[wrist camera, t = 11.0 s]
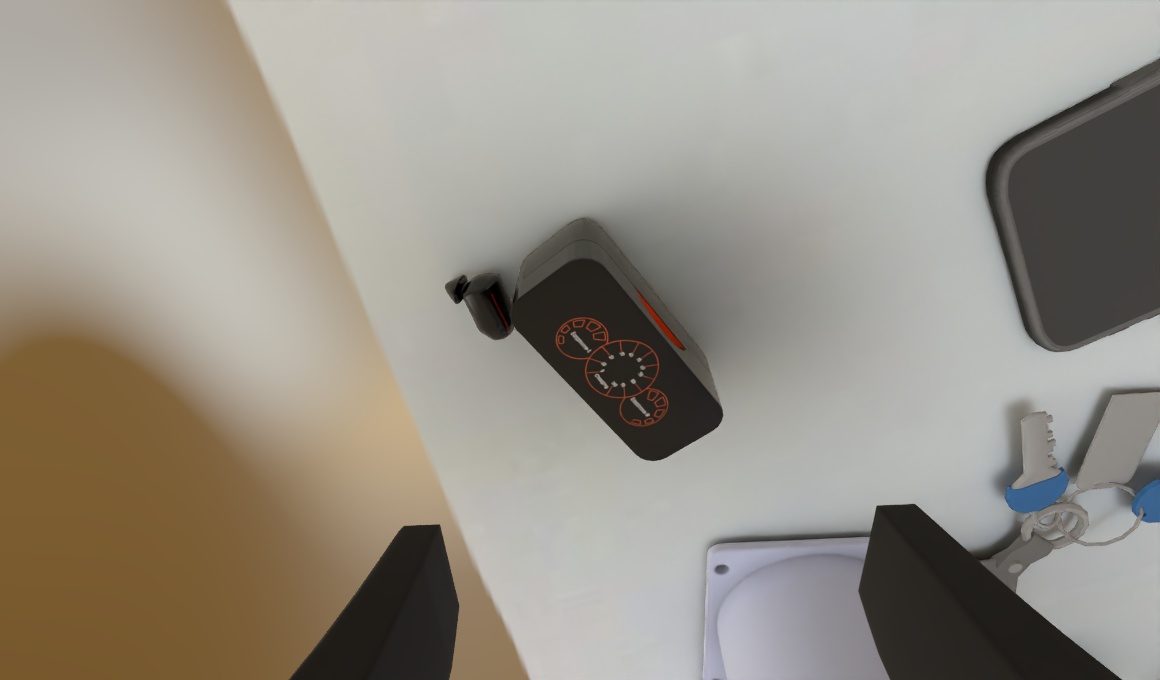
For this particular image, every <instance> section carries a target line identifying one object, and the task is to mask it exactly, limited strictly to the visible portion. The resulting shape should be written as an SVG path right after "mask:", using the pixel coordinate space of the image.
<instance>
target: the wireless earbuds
mask: <svg viewBox="0 0 1160 680" xmlns="http://www.w3.org/2000/svg"><path fill="white" fill-rule="evenodd" d="M445 289H446V291H447V293H448V294H449V296H450V298H451V299H452V300H453V301H454V302H455V304H459V303H460V302H461V301H462V299H464V301H465V303H466V305H467V307H468V309H469V311H470V313H471V315H472V317H473V319H474V321H475V324H476V326H477V328H478V329H479V331H480V332H481V333H483V334H485V335H486V336H488V337H489V338H491V339H493V340H500V339H504V338H506V337H507V336H508V335H510V334H511V333H512V331H513V330H514V327H515V328H516V330H517V331H518V332H519V333H520V334H521V335H522V336H523V337H524V338H525V339H526V340H527V341H528V342H529V343H530V344H531V345H532V346H533V347H534V348H535V349H536V351H537V352H538V353H539V354H540V355H541V356H542V357H543V358H544V359H545V360H546V361H547V362H548V363H549V364H550V365H551V366H552V367H553V368H554V369H555V370H556V371H557V372H558V374H559V375H560V376H561V377H562V378H563V379H564V380H565V381H566V382H567V383H568V384H569V385H570V386H571V387H572V388H573V389H574V390H575V391H576V392H577V393H578V394H579V395H580V397H581V398H582V399H583V400H584V401H585V402H586V403H587V404H588V405H589V406H590V407H591V408H592V409H593V410H594V411H595V412H596V413H597V414H598V415H599V416H600V417H601V418H602V420H603V421H604V422H605V423H606V424H607V425H608V426H609V427H610V428H611V429H612V430H613V431H614V432H615V433H616V434H617V435H618V436H619V437H620V438H621V439H622V440H623V441H624V443H625V444H626V445H627V446H628V447H629V448H630V449H631V450H632V451H633V452H634V453H635V454H636V455H637V456H639V457H640V458H642V459H645V460H649V461H657V460H662V459H664V458H666V457H668V456H670V455H672V454H673V453H675V452H677V451H679V450H680V449H682V448H684V447H685V446H687V445H689V444H691V443H692V442H694V441H696V440H698V439H699V438H701V437H703V436H704V435H706V434H708V433H710V432H711V431H713V430H714V429H715V428H717V427H718V426H719V424H720V423H721V421H722V418H723V410H722V406H721V403H720V400H719V397H718V394H717V390H716V387H715V384H714V381H713V378H712V374H711V371H710V368H709V365H708V362H707V359H706V357H705V355H704V354H703V352H702V351H701V350H700V348H699V347H698V346H697V345H696V343H695V342H694V341H693V340H692V338H691V337H690V336H689V335H688V333H687V332H686V331H685V330H684V329H683V327H682V326H681V325H680V324H679V322H678V321H677V320H676V319H675V317H674V316H673V315H672V314H671V313H670V311H669V310H668V309H667V308H666V306H665V305H664V304H663V303H662V301H661V300H660V299H659V298H658V296H657V295H656V294H655V293H654V292H653V290H652V289H651V288H650V287H649V285H648V284H647V283H646V282H645V280H644V279H643V278H642V277H641V276H640V274H639V273H638V272H637V271H636V269H635V268H634V267H633V266H632V264H631V263H630V262H629V261H628V259H627V258H626V257H625V256H624V255H623V253H622V252H621V251H620V250H619V248H618V247H617V246H616V245H615V243H614V242H613V241H612V240H611V239H610V237H609V236H608V235H607V234H606V232H605V231H604V230H603V229H602V227H601V226H599V225H598V224H597V223H596V222H594V221H592V220H589V219H580V220H576V221H574V222H572V223H570V224H569V225H568V226H566V227H565V228H564V229H562V230H561V231H560V232H558V233H557V234H556V235H554V236H553V237H552V238H550V239H549V240H548V241H547V242H545V243H544V244H543V245H541V246H540V247H539V248H537V249H536V250H535V251H533V252H532V253H531V254H529V255H528V256H527V258H526V259H525V260H524V261H523V263H522V265H521V267H520V271H519V275H518V280H517V284H516V289H515V293H514V298H513V302H512V301H511V299H510V297H509V294H508V292H507V290H506V288H505V285H504V283H503V281H502V279H501V277H500V275H499V274H497V273H486V274H482V275H478V276H476V277H474V278H473V279H472V280H471V281H469V282H468V280H467V276H466V275H462V276H460V277H457V278H455V279H453V280H451V281H450V282H448V283H447V284H446V285H445Z"/></svg>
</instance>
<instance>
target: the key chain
mask: <svg viewBox="0 0 1160 680" xmlns="http://www.w3.org/2000/svg"><path fill="white" fill-rule="evenodd" d="M1159 421H1160V392H1145V393H1130V394H1114V395H1112V397H1111V399H1110V402H1109V404H1108V406H1107V408H1106V411H1105V413H1104V415H1103V418H1102V420H1101V422H1100V425H1099V427H1098V429H1097V431H1096V434H1095V436H1094V438H1093V441H1092V443H1091V445H1090V447H1089V450H1088V452H1087V454H1086V457H1085V459H1084V461H1083V464H1082V466H1081V468H1080V470H1079V473H1078V475H1077V477H1076V480H1075V482H1074V484H1075V485H1076V486H1077V487H1078V488H1079V489H1080V490H1077V491H1075V492H1074V493H1073V494H1072V495H1071V496H1069V497H1068V498H1067V499H1066V500H1065V501H1064V502H1060V503H1056V502H1055V501H1056V500H1057V499H1058V498H1059V497H1060V496H1061V495H1062V494H1063V493H1064V492H1065V490H1066V487H1067V484H1068V481H1069V478H1068V476H1067V474H1066V472H1065V470H1064V469H1063V468H1062V467H1060V468H1059V469H1057V468H1054V467H1052V466H1053V465H1056V459H1055V458H1053V455H1051V454H1050V455H1048V453H1050V452H1052V451H1053V446H1056V440H1055V439H1051V440H1049V441H1048V438H1050V437H1053V431H1051V430H1049V431H1048V425H1047V423H1050V422H1053V418H1052V416H1051V415H1048V416H1047V413H1046V412H1045V411H1044V412H1035V413H1032V414H1030V415H1028V416H1027V417H1025V418H1024V419H1022V420H1021V432H1022V452H1023V474H1022V475H1021V476H1020V477H1019V478H1018V479H1017V480H1016V481H1015V482H1014V483H1013V484H1012V486H1008V488H1007V491H1006V495H1005V499H1006V501H1007V503H1008V505H1009V507H1010V508H1011V509H1012V510H1015V511H1018V512H1021V513H1029V512H1031V515H1030V516H1028V517H1027V518H1026V519H1025V521H1024V523H1023V525H1022V527H1021V535H1020V536H1019V537H1018V538H1017V539H1016V540H1015V541H1014V542H1013V543H1012V544H1011V545H1010V546H1009V547H1008V548H1007V549H1005V550H1003V551H1001V552H999V553H997V554H995V555H993V556H992V557H991V559H987V560H980V561H979V562H980V563H981V564H983V565H984V566H985V567H986V568H987V569H988V570H989V571H990V572H992V573H993V574H994V575H995V576H996V577H997V578H998V579H1000V580H1001V581H1002V582H1003V583H1004V584H1005V585H1006V586H1008V587H1009V588H1010V589H1011V590H1012V591H1013V592H1015V593H1016V586H1017V579H1018V577H1019V576H1020V575H1021V573H1022V572H1023V571H1024V570H1025V569H1026V568H1027V567H1028V566H1029V565H1030V564H1031V563H1033V562H1035V561H1037V560H1039V559H1041V558H1043V557H1045V556H1047V555H1048V554H1049V553H1050V552H1051V551H1052V550H1054V549H1060V548H1062V547H1065V546H1067V545H1069V544H1072V543H1074V542H1075V543H1078V544H1081V545H1084V546H1103V545H1108V544H1111V543H1114V542H1116V541H1119V540H1122V539H1124V538H1125V537H1126V536H1128V535H1129V534H1130V533H1131V532H1133V531H1134V530H1135V529H1136V528H1137V527H1138V525H1139V523H1140V521H1141V520H1142V521H1145V522H1148V523H1151V522H1160V479H1157V480H1155V481H1153V482H1151V483H1149V484H1148V485H1146V486H1144V487H1143V488H1142V489H1141V490H1140V491H1139V492H1138V493H1137V494H1136V493H1135V492H1134V491H1133V490H1132V489H1131V488H1129V487H1126V486H1122V485H1124V484H1125V483H1127V482H1128V481H1130V480H1131V479H1132V477H1133V475H1134V473H1135V471H1136V469H1137V467H1138V464H1139V462H1140V460H1141V458H1142V456H1143V454H1144V452H1145V450H1146V448H1147V446H1148V444H1149V442H1150V440H1151V438H1152V436H1153V434H1154V432H1155V429H1156V427H1157V425H1158V423H1159ZM1107 482H1108V483H1107ZM1095 483H1101V484H1095ZM1111 487H1116V488H1119V489H1122V490H1126V491H1128V492H1129V493H1130V494H1131V495H1132V496H1133V497H1134V500H1133V502H1132V512H1133V513H1134V514H1135V515H1136V516H1137V519H1136V522H1135V524H1134V526H1133V527H1132V528H1130V529H1129V530H1128V531H1127V532H1126V533H1124V534H1123V535H1122V536H1120V537H1117V538H1115V539H1112V540H1109V541H1107V542H1099V543H1086V542H1083V541H1080V540H1077V539H1079V538H1080V537H1081V536H1082V535H1083V534H1084V533H1085V531H1086V529H1087V527H1088V526H1089V521H1088V512H1087V511H1085V510H1084V509H1083V508H1082V507H1081V506H1079V505H1076V504H1071V503H1068V502H1069V501H1070V500H1072V499H1073V498H1074V497H1075V496H1076V495H1077V494H1079V493H1081V492H1084V491H1086V490H1089V489H1101V488H1111ZM1066 511H1067V512H1073V513H1074V514H1076V515H1077V516H1078V522H1077V523H1076V525H1075V527H1074V528H1073V529H1072V530H1071V531H1070V532H1068V533H1067V532H1066V531H1065V530H1064V529H1063V525H1062V520H1061V515H1062V513H1063V512H1066ZM1054 513H1056V515H1055V518H1054V520H1053V521H1052V522H1051V523H1049V524H1042V523H1040V522H1039V521H1041V520H1042V519H1043V518H1045V517H1047V516H1050V515H1052V514H1054ZM1057 523H1058V528H1059V531H1060V532H1061V533H1062V534H1063V535H1064V536H1062V537H1059V538H1057V539H1055V540H1046V539H1045V538H1043V537H1041V536H1039V535H1038V534H1036V533H1034V532H1032V530H1033V528H1034V526H1035V525H1037V526H1038V527H1040V528H1045V529H1048V528H1051V527H1053V526H1055V525H1056V524H1057Z"/></svg>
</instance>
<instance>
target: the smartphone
mask: <svg viewBox="0 0 1160 680" xmlns="http://www.w3.org/2000/svg"><path fill="white" fill-rule="evenodd" d="M1110 86H1111V87H1110V88H1108V89H1106V90H1104V91H1102V92H1100V93H1098V94H1096V95H1094V96H1092V97H1090V98H1088V99H1087V100H1085V101H1083V102H1081V103H1079V104H1077V105H1075V106H1073V107H1071V108H1069V109H1067V110H1065V111H1063V112H1061V113H1059V114H1058V115H1056V116H1054V117H1052V118H1050V119H1048V120H1046V121H1044V122H1042V123H1040V124H1038V125H1036V126H1034V127H1032V128H1031V129H1029V130H1027V131H1025V132H1023V133H1021V134H1019V135H1017V136H1015V137H1014V138H1012V139H1011V140H1009V141H1008V142H1006V143H1005V144H1004V145H1003V146H1002V147H1001V148H1000V149H999V150H998V151H997V152H996V153H995V154H994V156H993V158H992V159H991V161H990V164H989V167H988V171H987V178H986V189H987V196H988V199H989V203H990V206H991V209H992V213H993V216H994V220H995V223H996V227H997V230H998V234H999V237H1000V240H1001V244H1002V247H1003V251H1004V254H1005V258H1006V261H1007V265H1008V268H1009V271H1010V275H1011V279H1012V282H1013V286H1014V289H1015V293H1016V297H1017V300H1018V304H1019V308H1020V311H1021V315H1022V318H1023V322H1024V326H1025V329H1026V331H1027V332H1028V334H1029V336H1030V337H1031V338H1032V339H1033V340H1034V341H1035V343H1036V344H1038V345H1039V346H1041V347H1043V348H1044V349H1046V350H1048V351H1053V352H1064V351H1071V350H1074V349H1078V348H1080V347H1082V346H1085V345H1087V344H1089V343H1092V342H1094V341H1096V340H1099V339H1101V338H1103V337H1106V336H1108V335H1109V336H1110V335H1112V334H1115V333H1117V332H1119V331H1122V330H1124V329H1126V328H1129V326H1131V325H1134V324H1136V323H1138V322H1140V321H1143V320H1145V319H1150V318H1152V317H1154V316H1157V315H1159V314H1160V59H1159V60H1157V61H1155V62H1153V63H1151V64H1149V65H1147V66H1145V67H1143V68H1141V69H1139V70H1137V71H1135V72H1133V73H1131V74H1130V75H1128V76H1126V77H1124V78H1122V79H1120V80H1118V81H1116V82H1114V83H1112V84H1110Z"/></svg>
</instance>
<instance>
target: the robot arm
mask: <svg viewBox="0 0 1160 680" xmlns="http://www.w3.org/2000/svg"><path fill="white" fill-rule="evenodd" d="M718 565H722V566H718ZM458 612H459V603H458V599H457V594H456V590H455V586H454V582H453V578H452V574H451V569H450V565H449V561H448V557H447V553H446V549H445V544H444V540H443V536H442V532H441V527H440V525H416V526H404V527H403V528H402V529H401V530H400V531H399V532H398V533H397V535H396V536H395V538H394V539H393V540H392V542H391V543H390V545H389V546H388V548H387V549H386V551H385V552H384V554H383V555H382V557H381V558H380V560H379V561H378V563H377V564H376V566H375V567H374V568H373V570H372V571H371V573H370V574H369V575H368V577H367V578H366V580H365V581H364V582H363V584H362V585H361V587H360V588H359V589H358V591H357V592H356V594H355V595H354V596H353V598H352V599H351V601H350V602H349V603H348V605H347V606H346V607H345V609H344V610H343V611H342V613H341V614H340V615H339V617H338V618H337V619H336V621H335V622H334V623H333V625H332V626H331V627H330V629H329V630H328V631H327V633H326V634H325V635H324V637H323V638H322V639H321V641H320V642H319V643H318V644H317V646H316V647H315V648H314V649H313V651H312V652H311V654H309V656H308V657H307V658H306V659H305V660H304V662H303V663H302V664H301V665H300V667H299V668H298V669H297V670H296V671H295V673H294V674H293V675H292V677H291V678H290V679H289V680H449V677H450V673H451V668H452V661H453V654H454V646H455V638H456V629H457V621H458ZM702 680H1122V679H1120V678H1119V677H1118V676H1117V675H1115V674H1114V673H1113V672H1111V671H1110V670H1109V669H1108V668H1106V667H1105V666H1104V665H1103V664H1101V663H1100V662H1099V661H1097V660H1096V659H1095V658H1094V657H1092V656H1091V655H1090V654H1089V653H1087V652H1086V651H1085V650H1083V649H1082V648H1081V647H1080V646H1078V645H1077V644H1076V643H1074V642H1073V641H1072V640H1071V639H1070V638H1068V637H1067V636H1066V635H1065V634H1063V633H1062V632H1061V631H1060V630H1059V629H1057V628H1056V627H1055V626H1054V625H1052V624H1051V623H1050V622H1049V621H1048V620H1046V619H1045V618H1044V617H1043V616H1042V615H1040V614H1039V613H1038V612H1037V611H1036V610H1034V609H1033V608H1032V607H1031V606H1030V605H1029V604H1027V603H1026V602H1025V601H1024V600H1023V599H1022V598H1020V597H1019V596H1018V595H1017V594H1016V593H1015V592H1013V591H1012V590H1011V589H1010V588H1009V587H1008V586H1006V585H1005V584H1004V583H1003V582H1002V581H1001V580H1000V579H998V578H997V577H996V576H995V575H994V574H993V573H992V572H990V571H989V570H988V569H987V568H986V567H985V566H984V565H983V564H981V563H980V562H979V561H978V560H977V559H976V558H975V557H974V556H972V555H971V554H970V553H969V552H968V551H967V550H966V549H965V548H964V547H962V546H961V545H960V544H959V543H958V542H957V541H956V540H955V539H954V538H952V537H951V536H950V535H949V534H948V533H947V532H946V531H945V530H944V529H942V528H941V527H940V526H939V525H938V524H937V523H936V522H935V521H934V520H932V519H931V518H930V517H929V516H928V515H927V514H926V513H925V512H923V511H922V510H921V509H920V508H919V507H918V506H917V505H915V504H906V505H882V506H877V507H876V512H875V516H874V521H873V525H872V530H871V535H870V537H852V538H830V539H807V540H784V541H762V542H739V543H720V544H716V545H714V546H712V547H711V548H710V549H709V550H708V553H707V575H706V601H705V627H704V653H703V679H702Z"/></svg>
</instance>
